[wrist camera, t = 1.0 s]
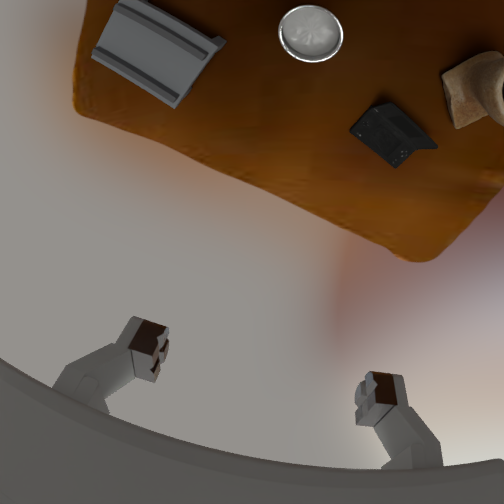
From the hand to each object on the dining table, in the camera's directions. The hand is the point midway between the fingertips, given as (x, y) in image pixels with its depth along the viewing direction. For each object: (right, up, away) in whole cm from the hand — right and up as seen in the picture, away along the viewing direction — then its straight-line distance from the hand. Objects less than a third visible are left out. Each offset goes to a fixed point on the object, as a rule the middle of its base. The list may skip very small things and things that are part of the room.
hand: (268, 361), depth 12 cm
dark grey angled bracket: (+22, +24, +34) cm, 47 cm away
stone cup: (+34, +32, +23) cm, 52 cm away
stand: (-14, +37, +29) cm, 49 cm away
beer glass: (+8, +37, +24) cm, 45 cm away
